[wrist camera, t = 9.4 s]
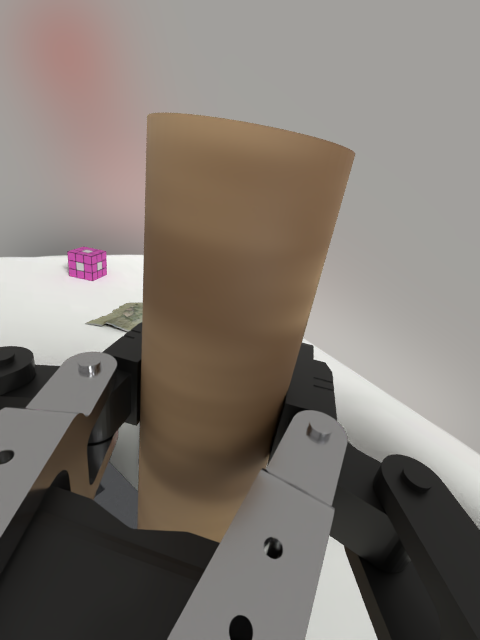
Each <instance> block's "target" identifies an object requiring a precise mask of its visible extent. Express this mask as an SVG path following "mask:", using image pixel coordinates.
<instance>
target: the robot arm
mask: <svg viewBox="0 0 480 640" xmlns="http://www.w3.org/2000/svg"><path fill="white" fill-rule="evenodd" d="M141 357H142V322H141V323H139V324H138V325H136V326H135V327H134V328H132V329H131V331H129V332H127V333H126V334H125V335H124V337H123V336H122V337H121V338H120V339H119V340H117V341H116V342H115V343H113V344H112V345H111V346H110V347H108V348H107V349H106V350H105V351H103V352H102V353H101V352H86V353H81V354H77V355H75V356H72V357H70V358H69V359H67V360H66V361H65V362H64V363H63V364H62V365H61V366H46V365H35V363H34V357H33V353H32V352H31V351H30V350H28V349H26V348H23V347H17V346H7V347H0V640H305V636H306V632H307V628H308V624H309V619H310V615H311V611H312V607H313V602H314V598H315V594H316V589H317V585H318V581H319V577H320V572H321V568H322V564H323V560H324V555H325V551H326V547H327V543H328V538H329V535H330V536H331V537H333V538H334V539H336V540H337V541H338V542H340V543H341V544H343V545H344V548H345V552H346V555H347V557H348V560H349V563H350V566H351V568H352V571H353V574H354V576H355V579H356V582H357V584H358V587H359V590H360V593H361V595H362V598H363V601H364V603H365V606H366V609H367V611H368V614H369V617H370V620H371V622H372V625H373V628H374V630H375V633H376V636H377V638H378V640H480V530H479V529H478V528H477V526H476V525H475V524H474V522H473V521H472V520H471V518H470V517H469V516H468V514H467V513H466V512H465V510H464V509H463V508H462V506H461V505H460V504H459V503H458V501H457V500H456V499H455V497H454V496H453V495H452V493H451V492H450V491H449V489H448V488H447V487H446V485H445V484H444V483H443V482H442V480H441V479H440V478H439V477H438V476H437V475H436V474H435V473H434V472H433V471H432V470H431V469H429V468H428V467H427V466H425V465H424V464H422V463H421V462H419V461H417V460H415V459H413V458H410V457H408V456H404V455H397V454H396V455H390V456H387V457H386V458H385V459H384V460H383V462H382V463H381V462H379V461H377V460H375V459H373V458H371V457H370V456H368V455H366V454H364V453H362V452H361V451H359V450H357V449H356V448H355V447H353V446H352V445H351V444H350V443H349V442H348V438H347V434H346V432H345V430H344V428H343V427H342V426H341V425H340V424H339V423H338V422H337V415H336V405H335V395H334V385H333V376H332V371H331V370H330V369H329V367H328V366H327V364H326V363H325V362H321V361H317V360H313V345H309V344H305V343H301V346H300V350H299V354H298V357H297V361H296V364H295V368H294V371H293V375H292V378H291V382H290V385H289V388H288V391H287V393H286V397H285V400H284V404H283V407H282V411H281V414H280V418H279V421H278V425H277V428H276V432H275V435H274V439H273V443H272V446H271V450H270V453H269V459H268V465H267V468H266V469H264V468H262V469H261V470H260V472H259V473H258V475H257V477H256V479H255V480H254V482H253V484H252V486H251V488H250V490H249V491H248V493H247V495H246V497H245V499H244V500H243V502H242V504H241V506H240V508H239V510H238V511H237V513H236V515H235V517H234V519H233V520H232V522H231V524H230V526H229V528H228V530H227V531H226V533H225V535H224V537H223V539H222V540H221V542H220V543H219V542H216V541H213V540H210V539H207V538H204V537H202V536H199V535H196V534H193V533H190V532H184V531H164V530H144V529H133V528H130V527H128V526H126V525H125V524H124V523H123V522H121V521H120V520H119V519H117V518H116V517H115V516H113V515H112V514H111V513H109V512H108V511H107V510H105V509H104V508H103V507H102V506H100V505H99V504H98V503H96V502H95V501H94V497H95V494H96V492H97V489H98V487H99V484H100V482H101V479H102V477H103V474H104V472H105V469H106V467H107V464H108V462H109V459H110V457H111V454H112V452H113V449H114V447H115V444H116V442H117V439H118V429H119V428H120V426H121V425H122V424H123V423H124V422H126V423H129V424H132V425H136V426H137V424H138V423H139V422H140V399H141Z"/></svg>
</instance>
